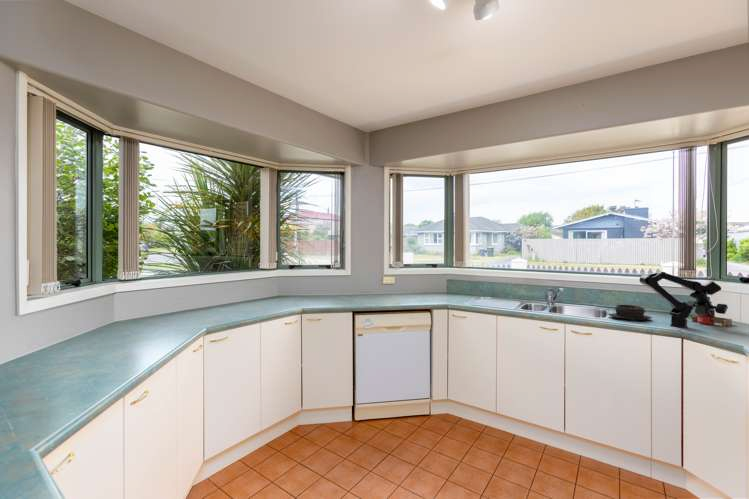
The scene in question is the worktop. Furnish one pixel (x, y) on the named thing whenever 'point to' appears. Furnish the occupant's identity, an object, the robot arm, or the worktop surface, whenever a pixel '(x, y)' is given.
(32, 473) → the worktop surface
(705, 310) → the robot arm
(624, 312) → the casserole
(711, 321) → the canned food
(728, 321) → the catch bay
